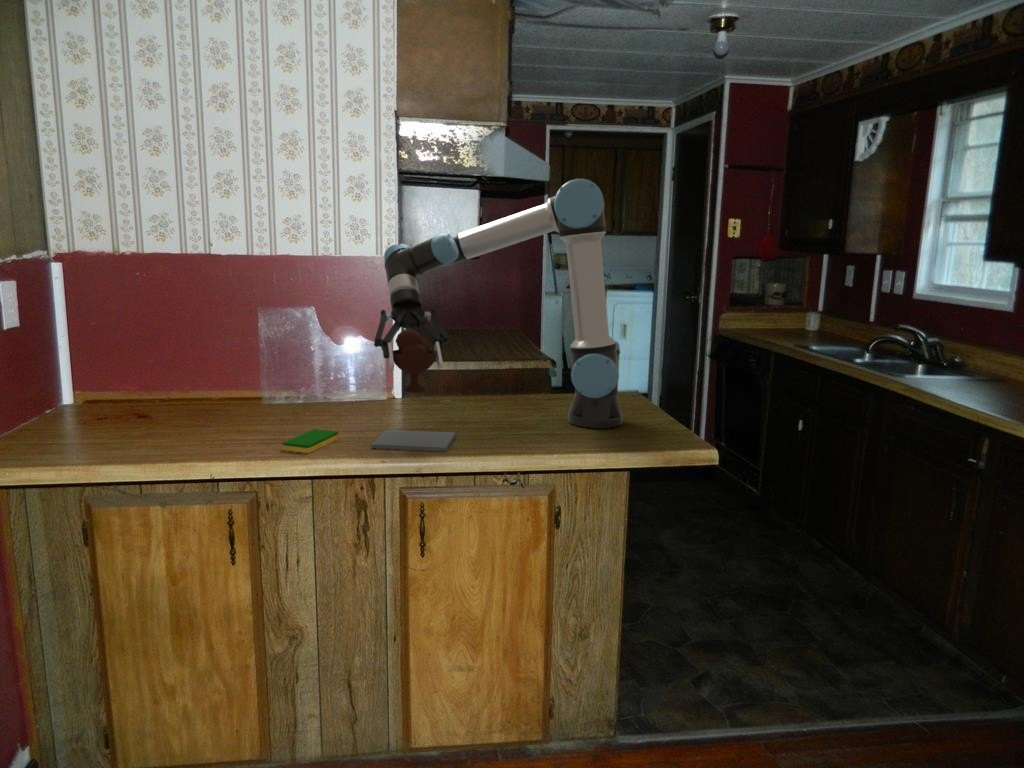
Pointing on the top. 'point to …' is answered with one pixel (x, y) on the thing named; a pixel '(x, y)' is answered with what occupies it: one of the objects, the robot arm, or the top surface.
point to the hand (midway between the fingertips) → (416, 367)
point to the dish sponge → (310, 441)
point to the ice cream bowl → (413, 357)
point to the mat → (414, 440)
